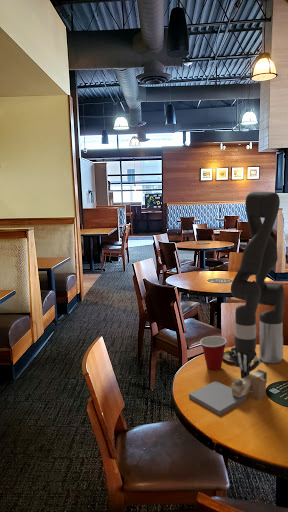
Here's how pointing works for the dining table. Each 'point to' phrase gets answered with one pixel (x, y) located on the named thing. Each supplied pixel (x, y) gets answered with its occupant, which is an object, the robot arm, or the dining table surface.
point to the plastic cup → (213, 351)
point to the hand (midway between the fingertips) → (245, 379)
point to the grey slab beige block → (225, 395)
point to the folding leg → (246, 383)
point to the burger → (228, 355)
